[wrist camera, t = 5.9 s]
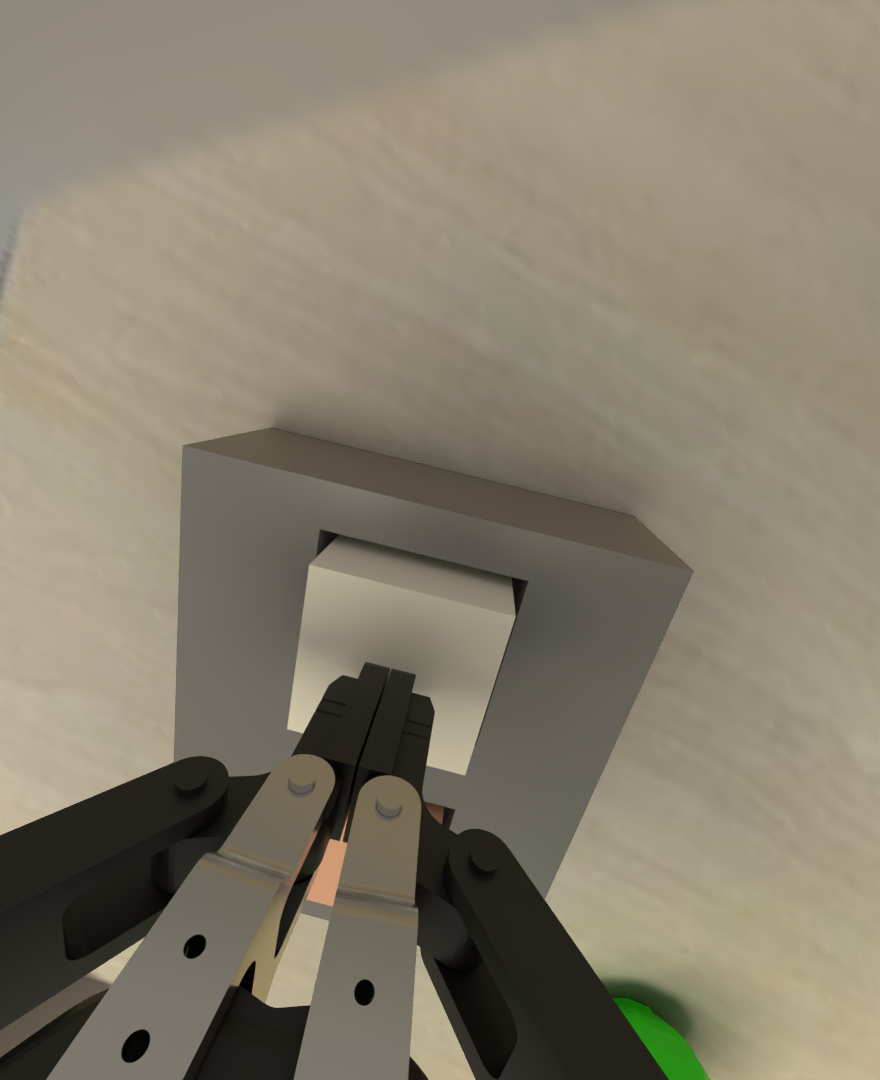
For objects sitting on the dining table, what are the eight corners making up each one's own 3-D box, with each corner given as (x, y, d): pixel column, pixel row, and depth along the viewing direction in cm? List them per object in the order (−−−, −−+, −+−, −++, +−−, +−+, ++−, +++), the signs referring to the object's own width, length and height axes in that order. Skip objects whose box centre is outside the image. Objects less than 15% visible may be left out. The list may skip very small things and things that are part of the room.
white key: (511, 574, 16) (515, 616, 13) (469, 712, 18) (464, 775, 15) (341, 532, 16) (309, 564, 13) (319, 674, 18) (287, 729, 15)
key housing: (634, 516, 19) (693, 571, 14) (507, 843, 26) (512, 970, 20) (270, 427, 20) (182, 445, 14) (238, 772, 26) (170, 877, 21)
